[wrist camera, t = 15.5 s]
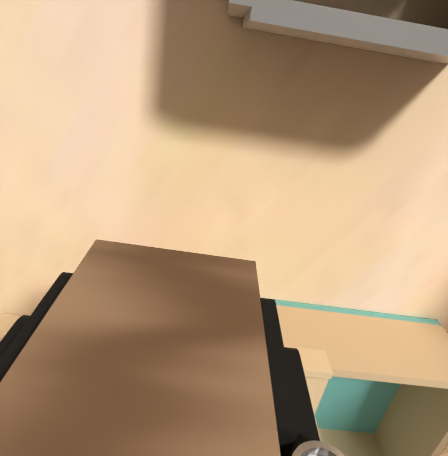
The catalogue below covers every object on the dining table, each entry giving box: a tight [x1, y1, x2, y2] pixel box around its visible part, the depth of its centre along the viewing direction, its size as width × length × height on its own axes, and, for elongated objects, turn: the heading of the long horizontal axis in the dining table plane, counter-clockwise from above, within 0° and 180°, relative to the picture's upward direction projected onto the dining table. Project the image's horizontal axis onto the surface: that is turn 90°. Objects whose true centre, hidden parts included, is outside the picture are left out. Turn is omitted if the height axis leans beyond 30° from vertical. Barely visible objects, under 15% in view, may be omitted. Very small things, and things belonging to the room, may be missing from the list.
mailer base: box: [275, 300, 448, 456], centre depth 32 cm, size 22×16×7 cm
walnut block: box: [0, 240, 281, 456], centre depth 8 cm, size 4×4×6 cm
